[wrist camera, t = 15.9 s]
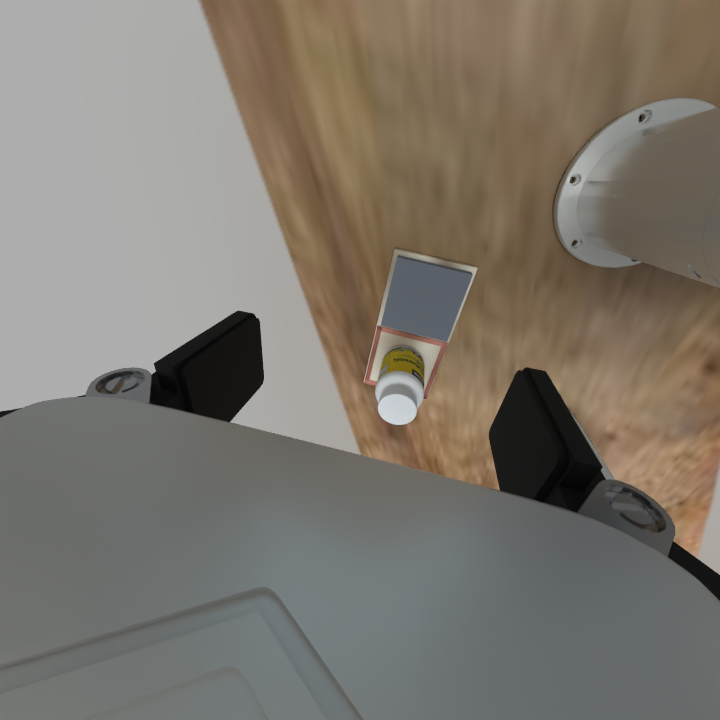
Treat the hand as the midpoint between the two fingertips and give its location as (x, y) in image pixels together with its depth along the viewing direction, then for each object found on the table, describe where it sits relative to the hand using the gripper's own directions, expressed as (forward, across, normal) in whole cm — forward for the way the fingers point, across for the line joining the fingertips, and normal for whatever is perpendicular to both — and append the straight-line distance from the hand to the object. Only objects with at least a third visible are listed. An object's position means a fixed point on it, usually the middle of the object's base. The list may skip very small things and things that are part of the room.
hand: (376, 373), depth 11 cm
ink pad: (+24, -2, +5) cm, 25 cm away
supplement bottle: (+25, -1, +14) cm, 28 cm away
